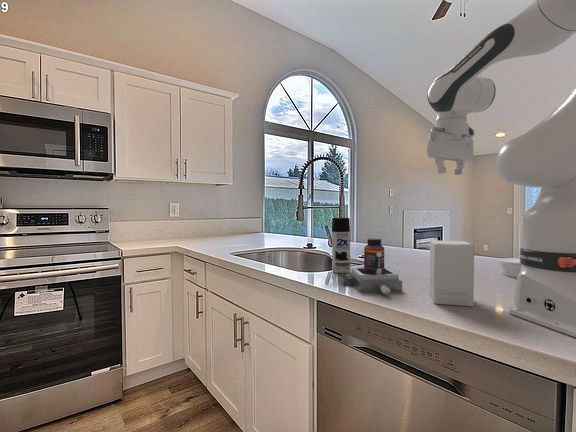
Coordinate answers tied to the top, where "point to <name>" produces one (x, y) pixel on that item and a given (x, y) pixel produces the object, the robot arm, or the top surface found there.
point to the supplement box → (452, 272)
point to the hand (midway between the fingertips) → (450, 174)
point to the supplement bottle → (374, 257)
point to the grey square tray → (373, 281)
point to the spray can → (341, 245)
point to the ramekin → (510, 266)
